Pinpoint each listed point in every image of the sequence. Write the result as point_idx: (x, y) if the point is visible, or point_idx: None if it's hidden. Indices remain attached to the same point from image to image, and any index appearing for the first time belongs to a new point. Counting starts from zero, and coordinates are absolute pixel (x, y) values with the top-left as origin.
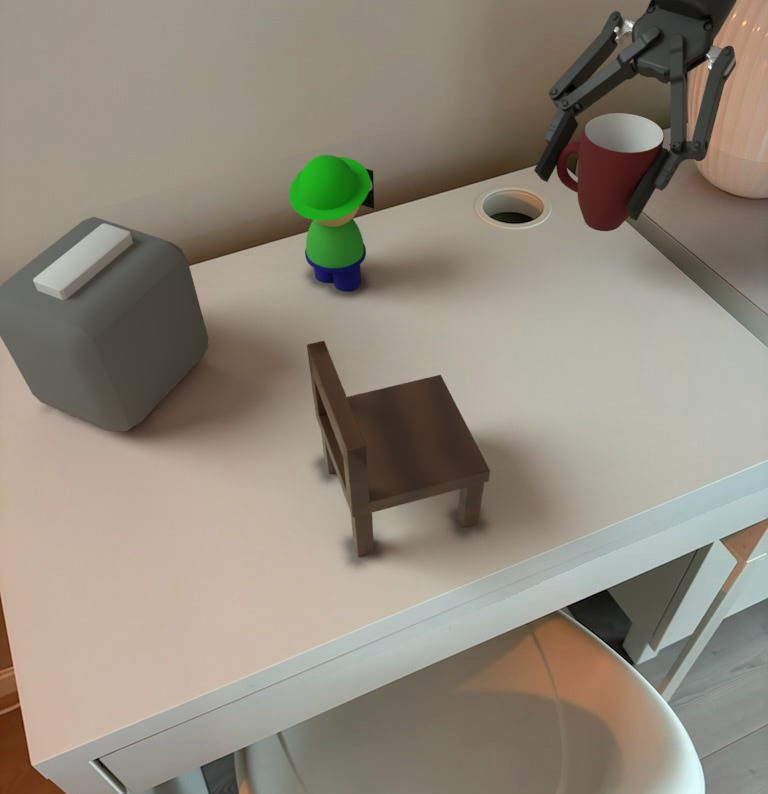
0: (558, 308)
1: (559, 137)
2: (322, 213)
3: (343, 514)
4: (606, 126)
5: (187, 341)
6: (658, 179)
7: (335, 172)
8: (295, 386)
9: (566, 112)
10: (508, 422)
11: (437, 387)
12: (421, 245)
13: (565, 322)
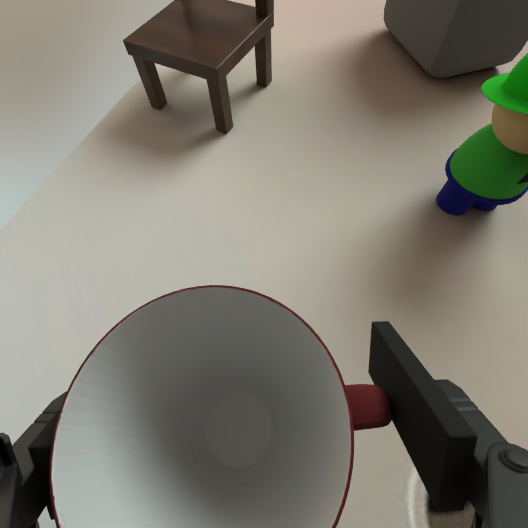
0: None
1: (407, 379)
2: (504, 78)
3: None
4: (322, 511)
5: (424, 27)
6: None
7: None
8: (351, 103)
9: (469, 433)
10: (185, 174)
11: (208, 60)
12: (472, 310)
13: None
